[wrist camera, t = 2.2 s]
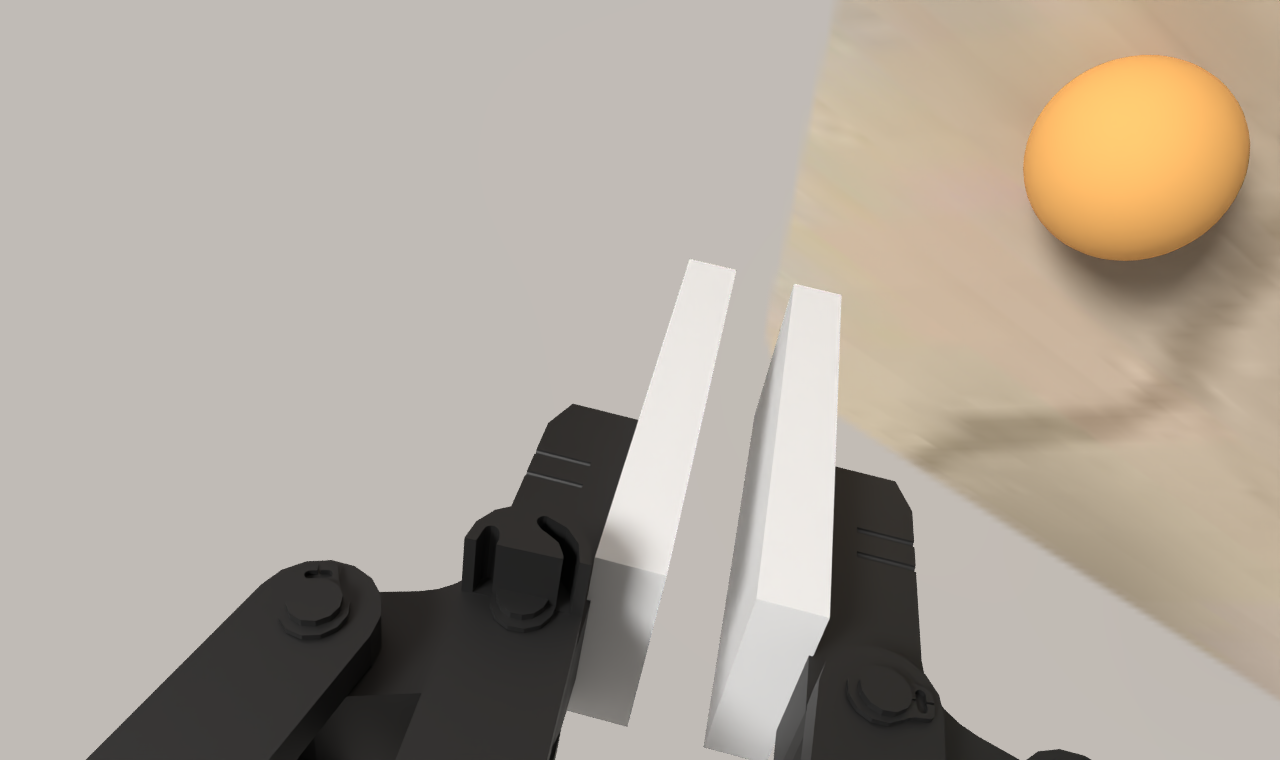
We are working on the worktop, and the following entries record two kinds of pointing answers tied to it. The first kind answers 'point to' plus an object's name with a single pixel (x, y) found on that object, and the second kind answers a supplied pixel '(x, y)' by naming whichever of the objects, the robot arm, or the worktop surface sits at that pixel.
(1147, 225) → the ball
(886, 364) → the worktop surface
